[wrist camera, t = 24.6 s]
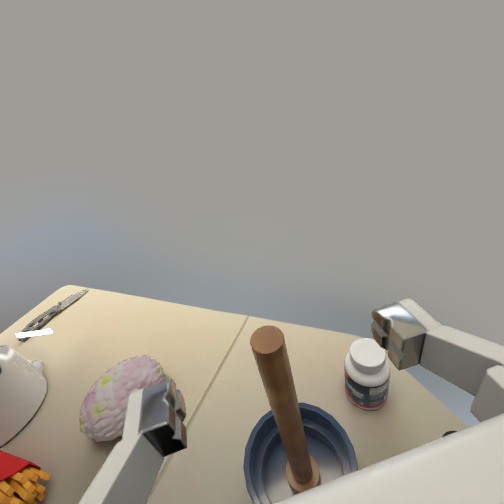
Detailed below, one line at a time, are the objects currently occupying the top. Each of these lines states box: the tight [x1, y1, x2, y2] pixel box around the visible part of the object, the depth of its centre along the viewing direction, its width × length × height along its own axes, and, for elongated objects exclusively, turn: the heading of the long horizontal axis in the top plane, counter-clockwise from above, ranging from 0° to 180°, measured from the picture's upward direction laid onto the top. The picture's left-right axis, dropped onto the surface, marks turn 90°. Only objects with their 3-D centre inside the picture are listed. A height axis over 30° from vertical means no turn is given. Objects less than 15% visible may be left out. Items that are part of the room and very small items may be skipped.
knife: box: [18, 289, 88, 341], centre depth 67 cm, size 2×18×3 cm
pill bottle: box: [345, 338, 390, 410], centre depth 36 cm, size 5×5×9 cm
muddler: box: [250, 326, 321, 495], centre depth 24 cm, size 4×4×24 cm
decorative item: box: [80, 355, 165, 442], centre depth 41 cm, size 9×11×10 cm
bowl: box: [244, 403, 358, 504], centre depth 30 cm, size 11×11×6 cm
